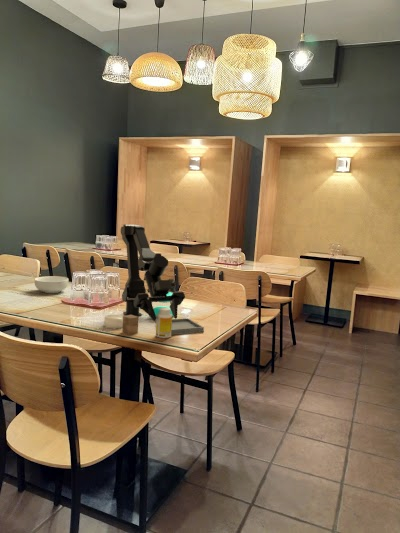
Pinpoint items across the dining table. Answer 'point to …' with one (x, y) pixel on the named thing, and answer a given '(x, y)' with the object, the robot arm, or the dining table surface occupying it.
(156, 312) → the donuts
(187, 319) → the slate tray
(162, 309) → the supplement bottle
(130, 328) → the walnut block
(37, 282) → the cereal bowl
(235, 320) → the dining table surface
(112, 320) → the cream rounded block
